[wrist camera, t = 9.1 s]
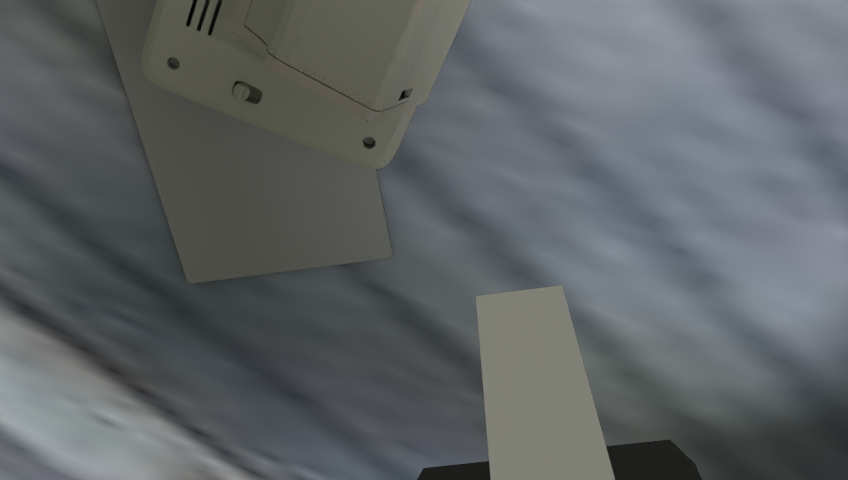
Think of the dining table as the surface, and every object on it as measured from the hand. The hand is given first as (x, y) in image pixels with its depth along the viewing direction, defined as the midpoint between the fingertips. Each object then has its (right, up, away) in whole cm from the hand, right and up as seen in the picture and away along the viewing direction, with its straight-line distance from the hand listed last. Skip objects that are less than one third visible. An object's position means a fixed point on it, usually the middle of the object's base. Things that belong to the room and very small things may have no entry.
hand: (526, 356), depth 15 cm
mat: (-10, +9, +21) cm, 24 cm away
